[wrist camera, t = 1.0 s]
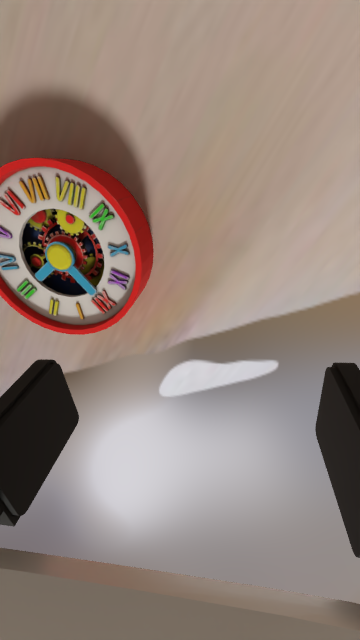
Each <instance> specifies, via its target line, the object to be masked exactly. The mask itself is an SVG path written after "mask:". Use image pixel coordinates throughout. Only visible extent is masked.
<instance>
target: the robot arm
mask: <svg viewBox="0 0 360 640" xmlns="http://www.w3.org/2000/svg"><path fill="white" fill-rule="evenodd" d="M78 419H79V415H78V412H77V409H76V406H75V404H74V401H73V399H72V396H71V393H70V390H69V388H68V385H67V382H66V380H65V377H64V374H63V372H62V369H61V367H60V365H59V364H57V363H56V361H54V360H37V361H35V362H34V363H33V364H32V365H31V366H30V367H29V368H28V369H27V370H26V371H25V373H24V374H23V375H22V376H21V377H20V378H19V379H18V380H17V381H16V382H15V383H14V384H13V385H12V386H11V387H10V388H9V389H8V390H7V391H6V392H5V393H4V394H3V395H2V396H1V397H0V524H1V525H8V526H15V525H16V523H17V521H18V519H19V518H20V516H21V515H23V514H25V513H26V511H27V510H28V508H29V506H30V505H31V503H32V501H33V500H34V498H35V496H36V495H37V493H38V491H39V489H40V488H41V486H42V484H43V482H44V481H45V479H46V477H47V476H48V474H49V472H50V470H51V469H52V467H53V465H54V463H55V462H56V460H57V458H58V457H59V455H60V453H61V451H62V450H63V448H64V446H65V444H66V443H67V441H68V439H69V438H70V436H71V434H72V432H73V431H74V429H75V427H76V426H77V423H78ZM316 436H317V440H318V443H319V446H320V449H321V452H322V455H323V458H324V462H325V465H326V468H327V471H328V474H329V478H330V481H331V484H332V487H333V490H334V493H335V496H336V499H337V503H338V506H339V509H340V512H341V515H342V518H343V522H344V525H345V528H346V531H347V534H348V537H349V541H350V544H351V547H352V549H353V552H354V554H355V556H356V557H358V558H360V370H359V368H358V367H357V365H356V364H355V363H333V365H332V367H328V368H327V369H326V371H325V377H324V383H323V388H322V394H321V399H320V405H319V410H318V416H317V421H316ZM0 640H360V604H356V603H352V602H347V601H342V600H335V599H330V598H324V597H319V596H313V595H307V594H301V593H295V592H290V591H284V590H278V589H273V588H266V587H259V586H253V585H246V584H240V583H233V582H227V581H221V580H214V579H207V578H201V577H195V576H188V575H181V574H175V573H168V572H161V571H155V570H149V569H142V568H135V567H128V566H121V565H115V564H108V563H101V562H94V561H88V560H81V559H75V558H68V557H61V556H54V555H47V554H40V553H33V552H26V551H19V550H12V549H5V548H0Z"/></svg>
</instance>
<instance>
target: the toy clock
mask: <svg viewBox="0 0 360 640" xmlns="http://www.w3.org/2000/svg"><path fill="white" fill-rule="evenodd" d="M152 265H153V243H152V236H151V233H150V229H149V225H148V222H147V220H146V218H145V216H144V214H143V211H142V209H141V208H140V206H139V205H138V203H137V202H136V200H135V199H134V197H133V196H132V194H131V193H130V192H129V191H128V190H127V189H126V188H125V187H124V186H123V185H122V184H121V183H120V182H119V181H118V180H116V179H115V178H114V177H113V176H111V175H110V174H109V173H107V172H105V171H103V170H102V169H100V168H98V167H96V166H94V165H91V164H88V163H85V162H82V161H77V160H69V159H55V158H27V159H20V160H16V161H13V162H10V163H7V164H5V165H4V166H2V167H1V168H0V296H1V297H2V298H3V299H4V300H5V301H6V302H7V303H8V304H9V305H10V306H11V307H12V308H14V309H15V310H16V311H17V312H18V313H20V314H21V315H23V316H24V317H26V318H27V319H29V320H30V321H32V322H34V323H36V324H38V325H40V326H42V327H44V328H47V329H50V330H53V331H56V332H61V333H66V334H89V333H95V332H98V331H101V330H104V329H107V328H108V327H110V326H112V325H114V324H115V323H117V322H118V321H119V320H120V319H121V318H122V317H123V316H124V315H125V314H126V313H127V312H128V310H129V309H130V308H131V306H132V305H133V304H134V302H135V301H136V299H137V298H138V296H139V295H140V293H141V292H142V291H143V289H144V288H145V286H146V283H147V281H148V279H149V277H150V273H151V269H152Z"/></svg>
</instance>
